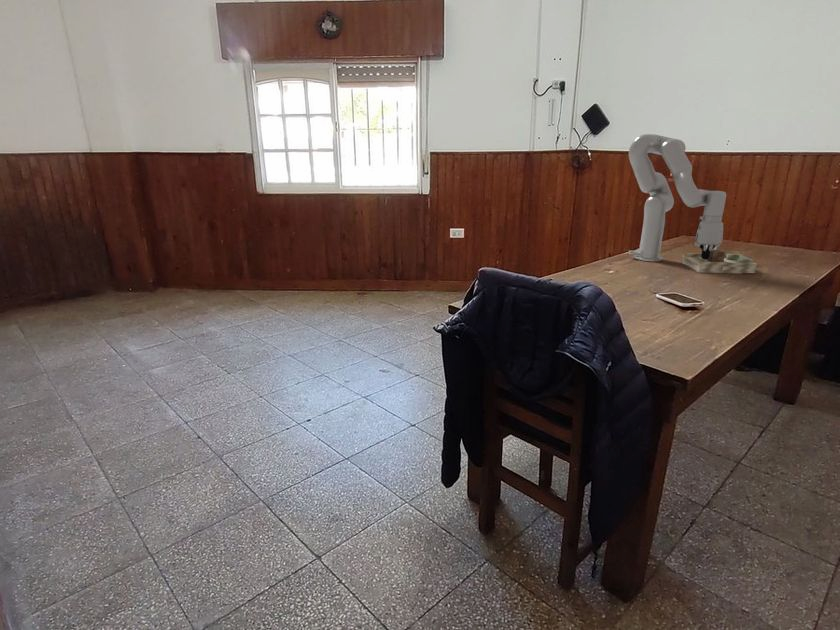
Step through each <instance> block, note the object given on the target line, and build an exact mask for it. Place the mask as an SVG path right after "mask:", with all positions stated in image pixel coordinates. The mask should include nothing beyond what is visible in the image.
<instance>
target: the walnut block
mask: <svg viewBox="0 0 840 630" xmlns="http://www.w3.org/2000/svg"><path fill="white" fill-rule="evenodd" d="M725 254H727V253H726V251H724V250H722V249H716V250H712V251H710V255H709V258H708V261H710V262H724V257H725Z"/></svg>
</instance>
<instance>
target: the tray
mask: <svg viewBox="0 0 840 630" xmlns="http://www.w3.org/2000/svg"><path fill="white" fill-rule="evenodd" d="M681 263H682V264H684V265H685V266H687V267H689V268H690V269H692V270H694V271H695V272H696V273H710V274H711V273H713V274H716V273H717V274H742V273H756V270H757V265H758V264H757V263H755V262H753V259H752V258H749V257H747V256H745V255H743V254H741V253H740V254H739V253H736V254H735V253H725V257H724V262H710V261H708V260H706V259H705V260H704V259H702V257H701V253H699V252H698V253H697V252H696V253H695V252H693V253H692V252H689V253H688V252H684V253H683V255H682V260H681Z"/></svg>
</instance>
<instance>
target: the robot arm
mask: <svg viewBox="0 0 840 630" xmlns="http://www.w3.org/2000/svg"><path fill="white" fill-rule="evenodd" d="M685 151H686V144H685V142H684V141H683V140H681V139H678V138H672V137H668V136H664V135H663V136H662V135H658V134H651V133H649V134H648V133H644V134H640V135H639V136H637V137H636V138H635V139H634V140H633V141H632V142H631V144H630V146H629V150H628V159H629V162H630V165H631V168H632V170H633V174H634V176H635V179H636V181H637V184H638V186H639V189H640V190H641V192H642V193H645V194H649V197H647V199H646V200H645V203H644V207H643V223H642V229H641V230H642V231H641V236H640V243H639V248H637V249H635V250H628V255H633V256H634V259H636V260H638V261H643V262H661V261H663V257H662V256H660V253H661V248H662V242H663V236H664V229H665V226H666V225H665V223H666V213H667V212H668V211H671V209H672V208H673V207H674V204H675V200H674V196H673V193H672V191H671V188H670V186H669V183H668V180H667V178H666V177H665V176H664V175H663V174H662V173H661V172H658V171H657V172H656V170H655V168H654V166H653V163H652V160H651V159H650V158H649V155H648V154H654V155H658V156H661V157H662V158H663V160H664V162H665V164H666V166H667V168H668V169H669V171H670V173H671V175H672V177H673V182H674V184H675V188H676V191H677V194H678V195H679V197H680V198H681V201H682V202H683V203H684V204H685V206H687V207H689V208H697V207H702V206H704V209H703V214H702V216H699V220H701V221H700V222H699V224H698V228H697V232H696V235H695V243H694V246H695V247H698V248H700V250H701V253H700V254H701V257H702V259H704V260H705V259H706V260H708V258H709V255H710V251H712V249H713V248H715V247H717V248H718V247H720V246H721V244H722V242H723V239H724V238H723V235H724V222H722V220H723V214H724V210H725V206H726V205H725V204H726V199H727V193H726V191H722V190H708V189H701V188H700V189H698V187H697V186H696V184H695V182H694V179H693V176H692V173H693V165H692V163H691V161H690V160H689V158H688V157H687V154H686V152H685ZM707 245H708V246H707ZM706 246H707V249H706Z"/></svg>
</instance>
